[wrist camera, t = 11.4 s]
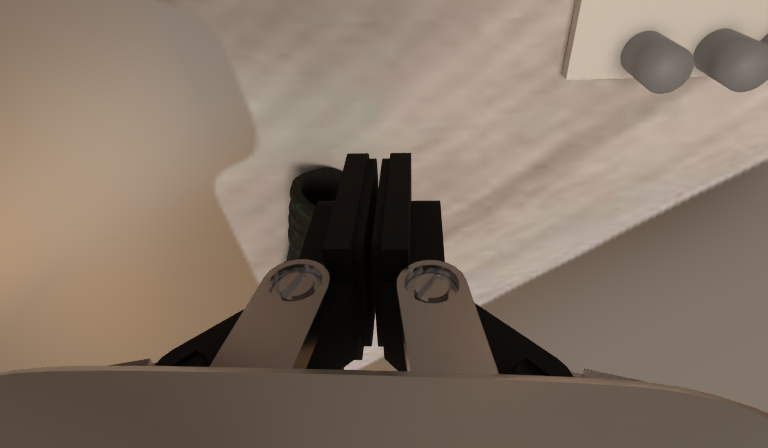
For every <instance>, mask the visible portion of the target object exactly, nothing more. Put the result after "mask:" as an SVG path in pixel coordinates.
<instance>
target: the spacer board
mask: <svg viewBox="0 0 768 448" xmlns="http://www.w3.org/2000/svg"><path fill="white" fill-rule="evenodd" d="M562 75H563V76H564V78H565V79H566V80H573V79H618V78H635V79H636V80H637V81H639V82H640V83H641V84H642V85H643V86H644V87H646V88H647V89H648V90H649V91H651V92H653V93H657V94H663V93H668V92H671V91H674V90H675V89H677V88H679V87H680V86H681V85H683V84H684V83H685V82H686V81H687V79H688V78H689V77H708V76H709V77H711V78H712V79H714V80H716V81H717V82H719V83H720V84H722V85H724V86H725V87H727V88H728V89H730V90H732V91H735V92H746V91H750V90H752V89H755V88H757V87H758V86H760V85H762V84H763V83H764V82H765V81H767V80H768V0H576V3H575V8H574V13H573V19H572V24H571V29H570V34H569V40H568V45H567V50H566V55H565V61H564V66H563V71H562Z"/></svg>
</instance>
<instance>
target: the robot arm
mask: <svg viewBox="0 0 768 448" xmlns="http://www.w3.org/2000/svg"><path fill="white" fill-rule="evenodd" d="M375 313H376V325H377V338H378V346H381V347H384V358H385V359H386V360H387V361H388V362H389V363H390V364H391V365H392V366H393V367H394V368H396V369H397V370H398V371H369V370H367V371H366V370H344V367H345V366H346V365H348V364H349V363H350V362H352V361H353V360H362V357H363V349H364V346H372V339H373V329H374V319H375ZM0 448H768V413H766V412H764V411H761V410H759V409H757V408H754V407H751V406H748V405H744V404H741V403H739V402H735V401H732V400H729V399H726V398H723V397H720V396H717V395H714V394H709V393H704V392H700V391H696V390H691V389H688V388H683V387H678V386H671V385H664V384H657V383H650V382H645V381H640V380H636V379H631V378H626V377H622V376H617V375H612V374H608V373H602V372H598V371H593V370H589V369H584V370H583V373H582V374H580V373H575V372H571V371H570V370H569V369H568V368H567V367H566V366H565V365H564V364H563V363H562V362H561V361H560V360H558V359H557V358H556V357H554V356H553V355H551V354H550V353H548V352H547V351H545V350H544V349H542V348H541V347H539V346H538V345H536V344H535V343H533V342H532V341H531V340H529V339H528V338H526V337H525V336H523V335H521V334H520V333H518V332H517V331H516V330H514V329H513V328H511V327H510V326H508V325H507V324H505V323H504V322H502V321H501V320H499V319H497V318H496V317H495V316H493V315H492V314H490V313H489V312H487V311H486V310H484V309H483V308H481V307H480V306H478V305H477V304H475V303H474V301H473V298H472V295H471V292H470V289H469V286H468V283H467V280H466V278H465V277H464V275H463V273H462V272H461V271H460V270H458V269H457V268H456V267H455V266H453V265H451V264H448V263H446V262H445V259H444V246H443V232H442V219H441V205H440V201H411V153H390V159H382V166H381V173H380V181H379V189H378V172H377V160H376V159H369V154H368V153H365V154H347V157H346V161H345V165H344V169H343V172H342V176H341V180H340V184H339V187H338V191H337V195H336V199H335V201H318V202H317V204H316V206H315V209H314V213H313V216H312V219H311V222H310V225H309V228H308V231H307V234H306V237H305V240H304V244H303V247H302V250H301V253H300V256H299V259H297V260H292V261H287V262H284V263H282V264H280V265H277V266H276V267H274V268H273V269H272V270H270V271H269V272H268V273H267V274H266V276H265V277H264V278H263V280H262V281H261V283H260V285H259V286H258V288H257V290H256V291H255V293H254V295H253V296H252V298H251V299H250V301H249V303H248V304H247V306H246V308H245V309H244V310H242V311H240V312H238V313H236V314H235V315H233V316H231V317H229V318H228V319H226V320H224V321H222V322H221V323H219V324H217V325H215V326H214V327H212V328H210V329H208V330H207V331H205V332H203V333H201V334H200V335H198V336H196V337H194V338H193V339H191V340H189V341H187V342H186V343H184V344H182V345H180V346H179V347H177V348H175V349H173V350H172V351H170V352H169V353H168V354H166V355H165V356H163V357H162V358H161V359H160V360H159V361H158V362H157V363H154V364H153V362H152V361H151V359H144V360H139V361H132V362H127V363H121V364H115V365H109V366H61V367H41V368H31V369H21V370H12V371H7V372H2V373H0Z"/></svg>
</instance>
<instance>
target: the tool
mask: <svg viewBox="0 0 768 448" xmlns="http://www.w3.org/2000/svg"><path fill="white" fill-rule="evenodd" d="M341 176H342V172H341V171H339V170H336V169H333V168H322V169H317V170H313V171H309V172H306V173H303V174H301V175H299V176H298V177H296V178H295V179H294V180H293V182H292V185H291V189H290V198H291V201H290V205H289V212H290V213H289V216H288V221H289V229H288V237H289V242H290V246H289V251H288V257H287V260H286V262H287V261H292V260H297V259H299V256H300V253H301V250H302V247H303V244H304V240H305V237H306V234H307V231H308V228H309V225H310V222H311V219H312V216H313V213H314V209H315V206H316V204H317V202H318V201H335V199H336V195H337V191H338V187H339V184H340V180H341Z"/></svg>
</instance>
